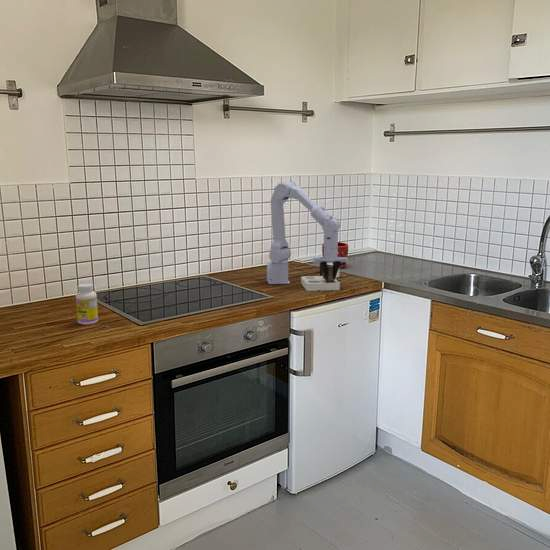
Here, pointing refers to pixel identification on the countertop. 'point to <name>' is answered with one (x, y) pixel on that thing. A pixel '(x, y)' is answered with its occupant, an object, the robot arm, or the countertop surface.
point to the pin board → (318, 283)
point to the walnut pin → (330, 274)
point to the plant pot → (340, 251)
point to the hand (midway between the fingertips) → (329, 279)
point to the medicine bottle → (330, 266)
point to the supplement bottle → (86, 304)
